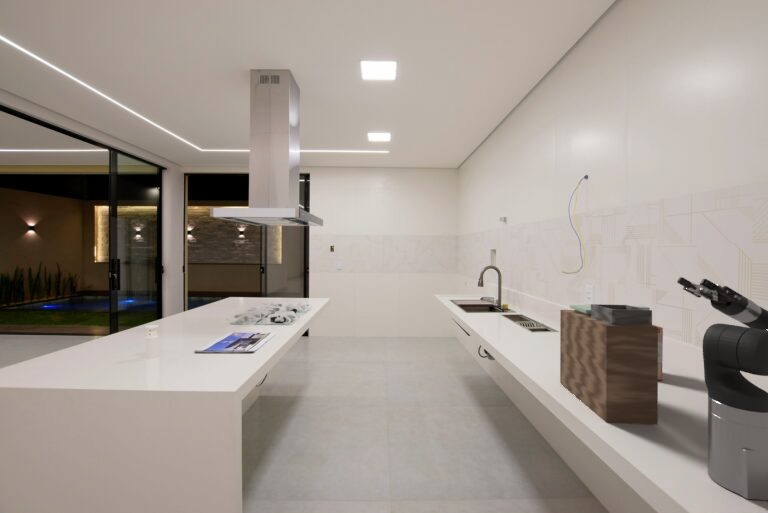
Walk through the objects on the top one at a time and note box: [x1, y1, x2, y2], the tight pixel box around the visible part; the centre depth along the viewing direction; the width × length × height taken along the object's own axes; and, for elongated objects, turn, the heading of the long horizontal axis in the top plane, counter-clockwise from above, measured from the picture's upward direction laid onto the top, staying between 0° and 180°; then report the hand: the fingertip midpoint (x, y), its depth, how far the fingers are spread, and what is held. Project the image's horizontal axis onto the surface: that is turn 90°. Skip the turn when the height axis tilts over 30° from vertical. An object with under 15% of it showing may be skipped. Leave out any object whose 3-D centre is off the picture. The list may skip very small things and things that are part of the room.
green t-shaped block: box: [569, 304, 651, 315], centre depth 112 cm, size 11×23×3 cm, turn 85°
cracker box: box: [652, 324, 664, 381], centre depth 130 cm, size 14×6×21 cm, turn 168°
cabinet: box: [559, 303, 659, 426], centre depth 105 cm, size 28×14×32 cm, turn 175°
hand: (690, 280), depth 105 cm, fingers open, 8 cm apart
